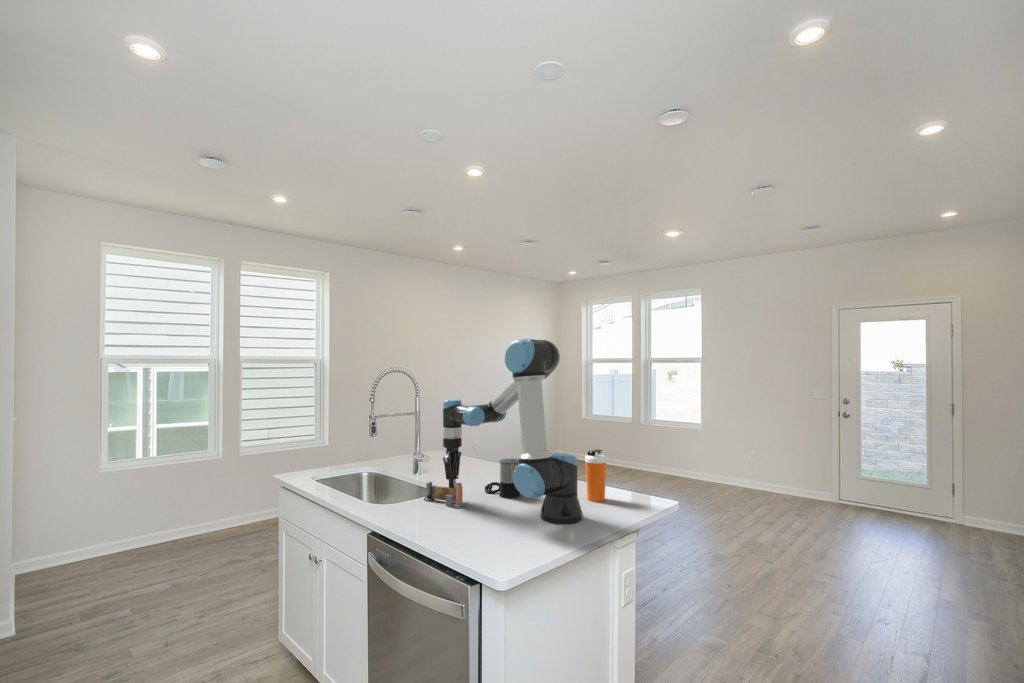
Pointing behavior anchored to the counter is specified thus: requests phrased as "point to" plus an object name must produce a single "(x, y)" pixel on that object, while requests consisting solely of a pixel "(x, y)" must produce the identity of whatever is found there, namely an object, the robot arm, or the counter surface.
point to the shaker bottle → (595, 475)
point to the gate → (443, 492)
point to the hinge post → (428, 492)
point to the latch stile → (458, 497)
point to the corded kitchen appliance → (505, 480)
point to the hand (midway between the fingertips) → (452, 495)
